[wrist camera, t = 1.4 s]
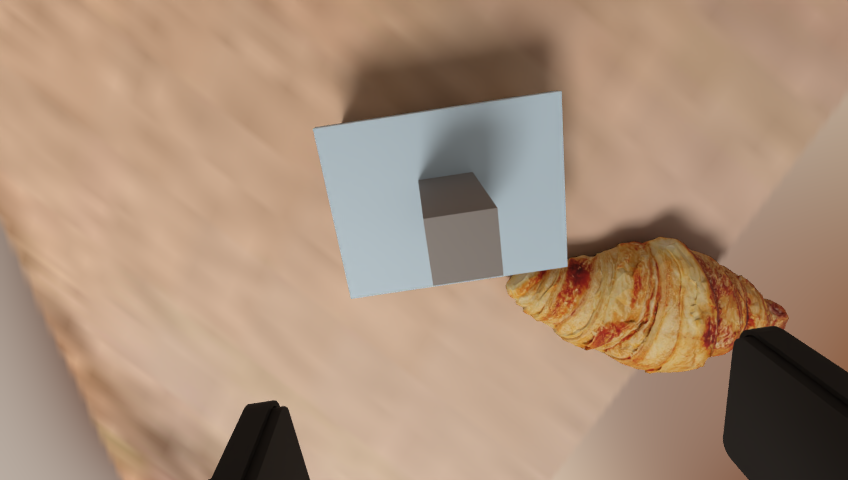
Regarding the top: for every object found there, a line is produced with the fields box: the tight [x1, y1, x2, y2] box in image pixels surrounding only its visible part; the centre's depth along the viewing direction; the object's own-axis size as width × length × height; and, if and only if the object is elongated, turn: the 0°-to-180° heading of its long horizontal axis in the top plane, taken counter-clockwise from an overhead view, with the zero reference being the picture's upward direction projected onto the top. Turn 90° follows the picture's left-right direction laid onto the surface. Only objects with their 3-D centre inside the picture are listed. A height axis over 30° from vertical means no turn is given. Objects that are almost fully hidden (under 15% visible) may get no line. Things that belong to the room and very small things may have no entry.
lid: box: [313, 91, 568, 299], centre depth 22 cm, size 13×10×8 cm
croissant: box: [506, 237, 789, 373], centre depth 33 cm, size 21×10×8 cm, turn 83°
